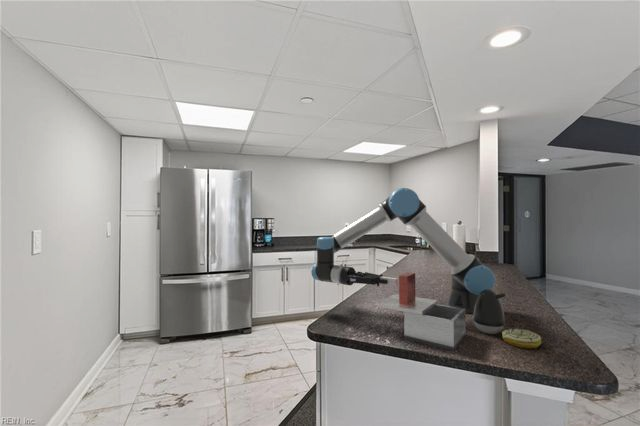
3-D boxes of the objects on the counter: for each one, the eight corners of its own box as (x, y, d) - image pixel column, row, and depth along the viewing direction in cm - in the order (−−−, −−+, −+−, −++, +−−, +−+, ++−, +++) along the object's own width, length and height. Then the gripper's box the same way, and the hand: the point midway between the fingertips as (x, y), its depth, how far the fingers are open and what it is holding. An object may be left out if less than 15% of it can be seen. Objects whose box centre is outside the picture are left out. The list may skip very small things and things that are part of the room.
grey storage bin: (404, 338, 106) (404, 311, 106) (420, 324, 118) (420, 301, 118) (453, 350, 96) (453, 321, 96) (465, 334, 108) (465, 309, 109)
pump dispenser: (505, 339, 104) (505, 294, 104) (471, 333, 110) (471, 290, 110) (506, 330, 113) (505, 288, 113) (474, 324, 118) (474, 285, 118)
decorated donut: (507, 334, 109) (507, 324, 109) (544, 343, 101) (544, 332, 101) (498, 343, 101) (498, 331, 102) (537, 353, 94) (537, 341, 94)
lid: (376, 306, 112) (376, 275, 112) (395, 296, 125) (395, 268, 125) (422, 315, 102) (421, 281, 102) (437, 303, 115) (437, 273, 115)
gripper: (352, 281, 135) (403, 289, 121) (335, 287, 125) (389, 296, 110) (352, 264, 135) (403, 270, 121) (335, 268, 125) (389, 275, 110)
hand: (396, 282), depth 116 cm, fingers closed
